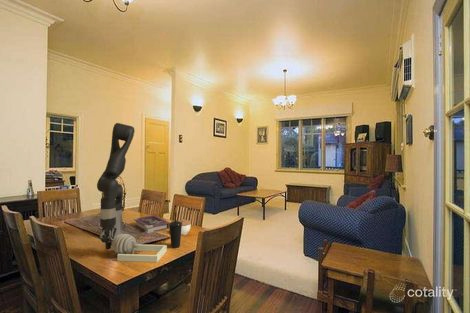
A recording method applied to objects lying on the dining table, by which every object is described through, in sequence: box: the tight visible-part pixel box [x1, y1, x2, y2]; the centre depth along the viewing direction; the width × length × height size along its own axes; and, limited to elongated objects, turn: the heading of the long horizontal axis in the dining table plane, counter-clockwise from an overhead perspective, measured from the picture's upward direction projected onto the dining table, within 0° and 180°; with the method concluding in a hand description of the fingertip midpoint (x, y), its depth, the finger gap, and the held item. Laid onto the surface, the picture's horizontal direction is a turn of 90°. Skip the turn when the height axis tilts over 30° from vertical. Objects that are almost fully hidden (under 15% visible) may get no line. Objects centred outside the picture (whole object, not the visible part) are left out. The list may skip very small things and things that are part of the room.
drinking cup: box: [169, 211, 182, 249], centre depth 145 cm, size 8×8×20 cm
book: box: [133, 214, 170, 234], centre depth 183 cm, size 25×16×5 cm, turn 41°
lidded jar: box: [177, 218, 192, 236], centre depth 168 cm, size 11×11×9 cm
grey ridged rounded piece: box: [111, 233, 138, 257], centre depth 133 cm, size 11×17×11 cm, turn 73°
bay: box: [116, 243, 168, 263], centre depth 133 cm, size 20×14×3 cm
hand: (108, 248), depth 134 cm, fingers closed
